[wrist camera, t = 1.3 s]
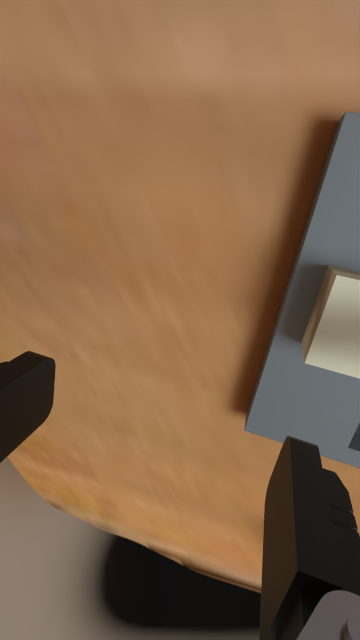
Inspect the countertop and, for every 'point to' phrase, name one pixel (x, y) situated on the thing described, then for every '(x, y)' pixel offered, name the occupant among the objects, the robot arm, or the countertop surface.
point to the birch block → (335, 324)
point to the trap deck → (297, 305)
